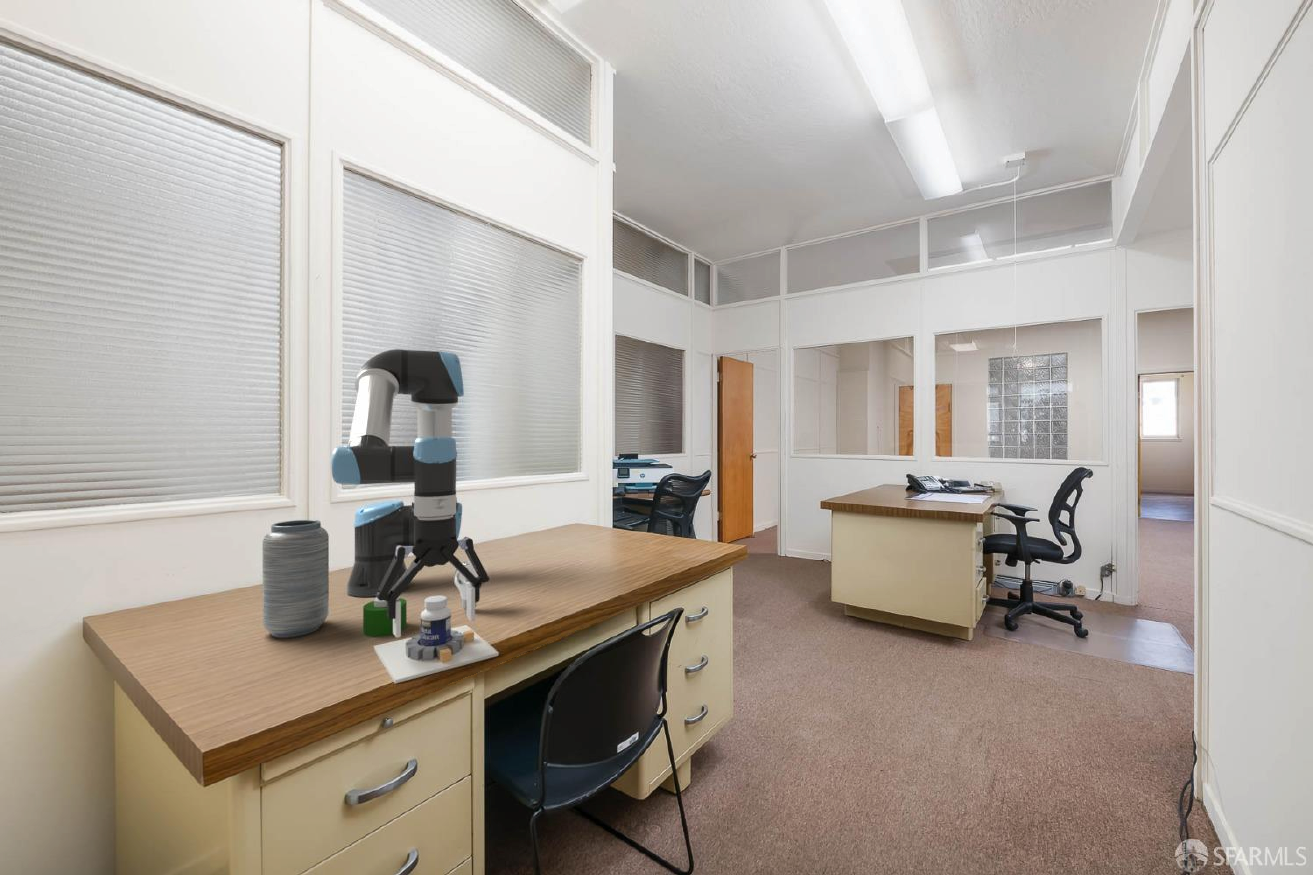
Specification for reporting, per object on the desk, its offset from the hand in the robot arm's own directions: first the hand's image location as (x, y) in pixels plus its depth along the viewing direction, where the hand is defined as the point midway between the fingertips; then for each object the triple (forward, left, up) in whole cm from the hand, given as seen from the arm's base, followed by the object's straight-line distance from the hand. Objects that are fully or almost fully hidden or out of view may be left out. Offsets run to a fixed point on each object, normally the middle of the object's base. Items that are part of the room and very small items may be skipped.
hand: (435, 626), depth 100 cm
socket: (0, 0, -5) cm, 5 cm away
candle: (-19, -5, -5) cm, 20 cm away
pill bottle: (0, 0, -4) cm, 5 cm away
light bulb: (-19, +13, -5) cm, 24 cm away
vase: (-30, -20, -5) cm, 36 cm away
